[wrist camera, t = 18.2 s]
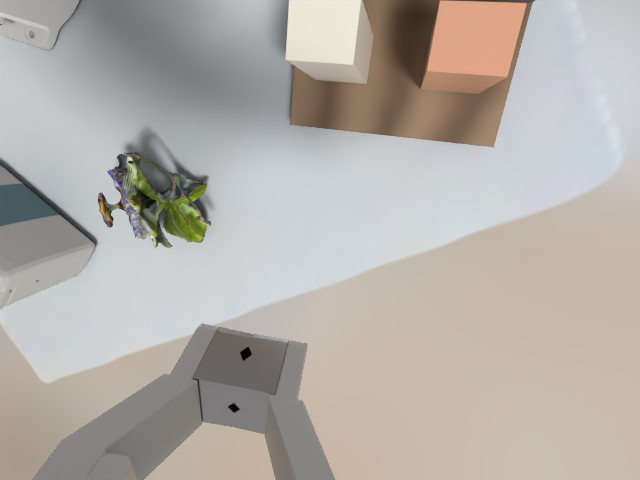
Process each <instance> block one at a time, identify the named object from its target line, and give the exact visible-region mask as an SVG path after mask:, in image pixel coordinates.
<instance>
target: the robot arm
mask: <svg viewBox="0 0 640 480" xmlns="http://www.w3.org/2000/svg"><path fill="white" fill-rule="evenodd" d="M78 3H79V0H0V35H3V36H6V37H9V38H12V39H15V40H18V41H21V42H24V43H27V44H30V45H32V46H35V47H38V48H41V49H44V50H50V49H52V47H53V46H54V44H55V41H56V38H57V35H58V32H59V29H60V28H61V27H62V25H63V24H64V23H65V22H66V21H67V20H68V19H69V18H70V17H71V15H72V14H73V12H74V11H75V9H76V7H77V5H78ZM306 351H307V344H306V343H301V342H295V341H289V340H286V339H281V338H275V337H270V336H264V335H258V334H250V333H245V332H240V331H236V330H231V329H227V328H222V327H217V326H212V325H207V324H201V325H200V326H199V327H198V328H197V329H196V331H195V333H194V334H193V336H192V338H191V340H190V341H189V343H188V345H187V346H186V348H185V350H184V352H183V354H182V355H181V357H180V358H179V360H178V362H177V364H176V366H175V367H174V369H173V371H172V372H171V374H170V375H169V374H163V375H162V376H160V377H159V378H157V379H156V380H154V381H153V382H151V383H150V384H148V385H146V386H145V387H143V388H142V389H141V390H139V391H137V392H136V393H134V394H133V395H131V396H130V397H128V398H126V399H125V400H123V401H122V402H121V403H119V404H117V405H116V406H114V407H113V408H111V409H110V410H108V411H107V412H105V413H103V414H102V415H100V416H99V417H97V418H96V419H94V420H93V421H91V422H90V423H88V424H87V425H85V426H83V427H82V428H80V429H79V430H77V431H76V432H74V433H73V434H71V435H70V436H68V437H67V438H65V439H63V440H62V441H61V442H60V443H59V445H58V446H57V447H56V449H55V450H54V452H53V453H52V454H51V455H50V457H49V458H48V459H47V461H46V462H45V463H44V465H43V466H42V467H41V468H40V470H39V471H38V472H37V474H36V475H35V477H34V478H33V479H32V480H144V479H145V478H146V477H147V476H148V475H149V474H150V473H151V472H152V471H153V470H154V469H155V468H156V467H157V466H158V465H159V464H161V463H162V462H163V461H164V460H165V459H166V458H167V457H168V456H169V455H170V454H171V453H172V452H173V451H174V450H175V449H176V448H177V447H178V446H179V445H180V444H181V443H182V442H184V441H185V440H186V439H187V438H188V437H189V436H190V435H191V434H192V433H193V432H194V431H195V430H196V429H197V428H198V427H199V426H200V425H201V424H202V422H206V423H212V424H219V425H224V426H230V427H236V428H240V429H245V430H249V431H254V432H258V433H262V434H265V438H266V442H267V446H268V451H269V455H270V459H271V462H272V467H273V471H274V475H275V479H276V480H335V478H334V476H333V473H332V471H331V468H330V466H329V463H328V461H327V459H326V456H325V454H324V451H323V449H322V446H321V444H320V441H319V439H318V437H317V434H316V432H315V429H314V427H313V424H312V422H311V420H310V417H309V415H308V412H307V410H306V407H305V405H304V402H303V401H301V400H298V395H299V390H300V384H301V378H302V373H303V367H304V362H305V356H306Z"/></svg>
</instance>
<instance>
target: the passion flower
mask: <svg viewBox="0 0 640 480" xmlns="http://www.w3.org/2000/svg"><path fill="white" fill-rule="evenodd" d="M124 154H125V153H124ZM125 155H127V156H125ZM125 155H123V154H120V155H118V156H117V159H118V161H119V166H118V167H115V169H112V170H109V171H110V172H109V171H107V172H108V174H109V175H110V176H111V177H112V179H113V181H114V186H115V188H116V189H117V190H118V191H119V192H120V193H121V197H122V198H121V200H120V202H119V203H117V204H115V205H110V204H108V203H107V201H106V199H105V197H104V195H103V194H102V193H99V194H98V203H99V205H100V210H99V211H100V212H101V214H102V215H103V219H104V221H105V223H106V224H107V226H108V227H112V226H113V217H112V216H111V212H112V210H114V209H117V208H119V209H122V210H124V211H126V212H127V215H128V216H129V220H130V224H131V227H132V229H133V231H134V233H135V238H136V236H137V237H138V238H142V239H144V238H147V236H150V237H151V239H152V241H153V242H154V247H153V248H156V247H157V246H158V243H159V242H160V243H162V244H163V246H165V247H167V248H170V247H172V245H171V244H170V243H169V242H168V241H167V239H166V237H165V236H164V233H163V232H162V230H161V227H160V223H159V215H160V212H161V211H162V210H163V209H165V214H166V216H165V218H164V227H163V228H165V231H166V232H167V233H170V234H172V235H175V236H178V237H180V238H183V239H186V240H187V242H192V241H194V242H198V243H200V242H202V241H203V238H204V237H205V231H206V227H207V226H210V225H211V222H210V221H206V220H205V219H204V218H203V217H202V215H201V212H200V210H199V209H198V207H197V206H196V205H195V204H194V203H193V202H192V201H195V200H196V199H198V198H199V197H200V196H201V195H202V194H203V193H204V192H205V190H206V187H207V184H203V182H198V181H195V180H189V179H186V178H182V177H181V176H179V175H177V174H172V173H169V172H167V171H166V170H164V169H162V168H161V167H159V166H157V165H155V164H154V163H152V162H151V161H149V160H148V159H147V158H145V157H144V156H141V155H140V154H138V153H136V152H135V153H131V152H129V153H126V154H125ZM140 160H144V161H146V162H147V163H149V164H150V165H152V166H153V167H155V168H157V169H158V170H160V171H162V172H163V173H165V174H167V175H168V176H169V177H170V179H171V181H172V186H171V187H170V188H169V189H167V190H165V191H164V192H162V193H161V194H160V193H158V192H157V191H156V190H155V189H154V188H153V187H152V186H151V184H150V182H149V181H148V179H147V178H146V175H145V174H144V173H143V172H142V171H141V168H140ZM192 183H193V184H196V183H197V184H203V185H202V186H200V187H198V188H196V189H193V190H191V191H185V190H184V188H185V189H186V188H188V187H189V186H190V184H192ZM176 186H178V187H179V189H180V190H181V195H180V196H176V194H175V189H176ZM169 190H171V192H172V193H171V195H170V196H169V197H164V196H162V194H163V193H165V192H167V191H169ZM155 202H157V204H156V206H155V207H154V208H152V209H149V207H150V206H151V205H153V204H154V203H155ZM189 202H190V203H191V204H192V205H193V206H194V208H195V209H194V208H193V207H192V206H191V205H190V204H189ZM206 225H207V226H206Z"/></svg>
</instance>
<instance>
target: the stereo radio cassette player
mask: <svg viewBox="0 0 640 480" xmlns="http://www.w3.org/2000/svg"><path fill="white" fill-rule="evenodd" d="M94 249H95V244H94V243H93V242H92V241H91V240H89V239H88V238H87V237H86V236H85V235H83V234H82V233H81V232H80V231H79V230H77V229H76V228H75V227H74V226H73V225H71V224H70V223H69V222H68V221H67V220H65V219H64V218H63V217H62V216H61V215H60V214H58V213H57V212H56V211H55V210H54V209H52V208H51V207H50V206H49V205H48V204H46V203H45V202H44V201H43V200H42V199H40V198H39V197H38V196H37V195H36V194H34V193H33V192H32V191H31V190H30V189H28V188H27V187H26V186H25V185H24V184H23V183H21V182H20V181H19V180H18V179H17V178H15V177H14V176H13V175H12V174H11V173H9V172H8V171H7V170H6V169H5V168H3V167H2V166H1V165H0V310H1V309H3V307H4V306H7V305H9V304H12V303H14V302H16V301H19V300H21V299H23V298H26V297H28V296H30V295H33V294H35V293H38V292H40V291H42V290H45V289H47V288H49V287H52V286H54V285H56V284H59V283H61V282H63V281H66V280H68V279H71V278H73V277H75V276H77V275H78V274H80V272H81V271H82V270H83V269H84V267H85V266H86V264H87V263H88V261H89V259H90V257H91V255H92V253H93V251H94Z"/></svg>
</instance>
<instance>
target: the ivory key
mask: <svg viewBox="0 0 640 480" xmlns="http://www.w3.org/2000/svg"><path fill="white" fill-rule="evenodd" d="M372 44H373V33H372V29H371V26H370V23H369V20H368V16H367V13H366V10H365V7H364V3H363V0H289V10H288V26H287V42H286V58H285V60H286V61H288V62H289V63H291V64H292V65H294V66H296V67H297V68H299V69H300V70H302V71H303V72H305V73H306V74H308V75H309V76H311V77H313V78H314V79H316V80H323V81H335V82H347V83H359V84H367V80H368V73H369V65H370V58H371V51H372Z"/></svg>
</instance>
